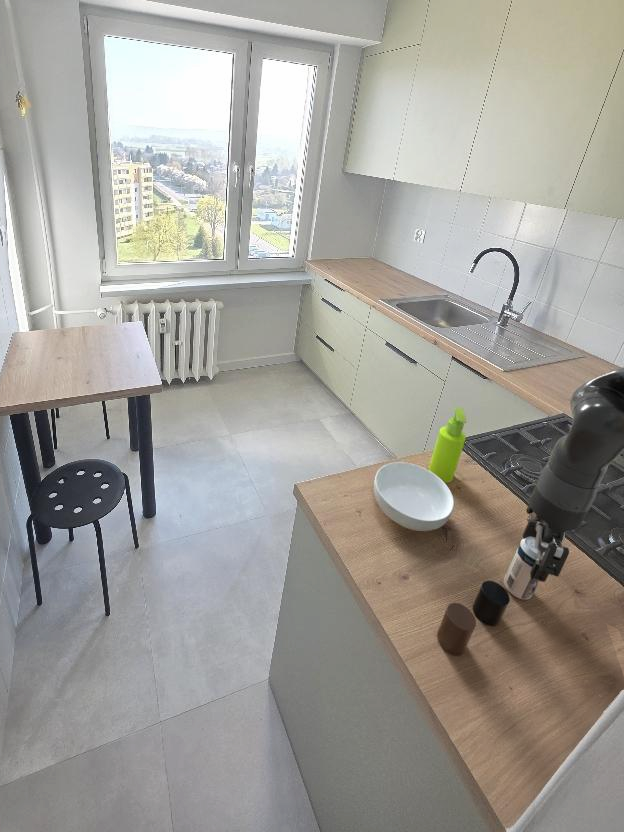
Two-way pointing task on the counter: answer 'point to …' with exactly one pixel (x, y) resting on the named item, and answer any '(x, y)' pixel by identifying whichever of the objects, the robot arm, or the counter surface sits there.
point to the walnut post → (456, 629)
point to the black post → (491, 603)
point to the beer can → (523, 570)
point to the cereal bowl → (413, 496)
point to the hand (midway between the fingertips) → (532, 558)
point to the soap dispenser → (448, 447)
